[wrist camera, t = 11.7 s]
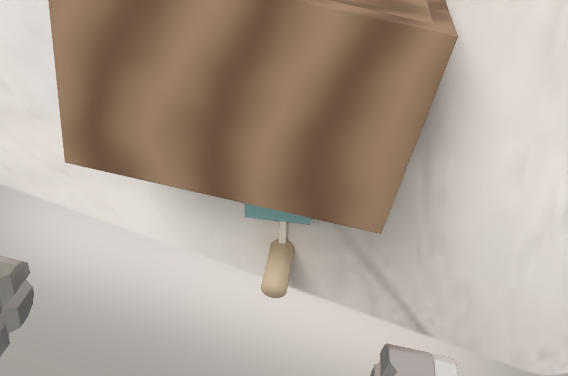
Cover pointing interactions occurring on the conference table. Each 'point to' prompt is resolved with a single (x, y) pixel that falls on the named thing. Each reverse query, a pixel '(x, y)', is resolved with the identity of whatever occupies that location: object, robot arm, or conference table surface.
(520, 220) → the conference table surface
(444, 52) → the walnut shelf
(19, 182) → the conference table surface
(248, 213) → the tethered block
